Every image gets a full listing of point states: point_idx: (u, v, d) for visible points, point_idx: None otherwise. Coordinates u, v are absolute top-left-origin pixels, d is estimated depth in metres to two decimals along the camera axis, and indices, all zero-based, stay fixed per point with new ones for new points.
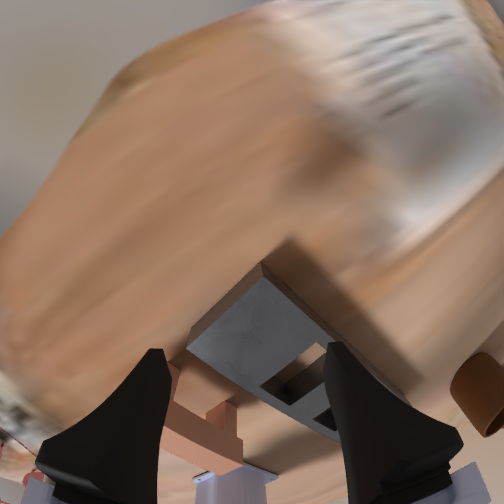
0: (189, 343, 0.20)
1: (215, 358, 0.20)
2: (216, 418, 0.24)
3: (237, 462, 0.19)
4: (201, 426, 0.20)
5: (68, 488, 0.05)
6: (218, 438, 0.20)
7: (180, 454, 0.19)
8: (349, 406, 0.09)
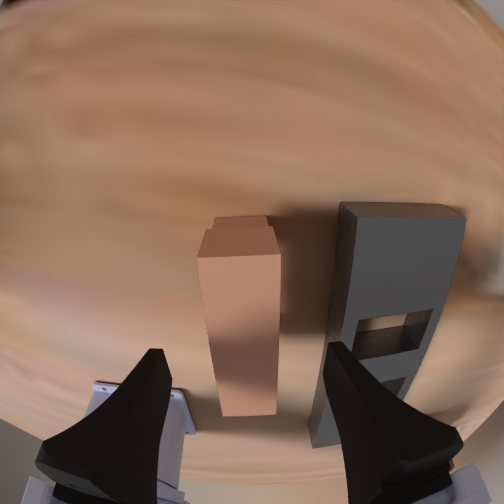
0: (362, 215, 0.14)
1: (368, 255, 0.15)
2: None
3: None
4: None
5: (68, 488, 0.05)
6: None
7: (220, 362, 0.13)
8: (349, 406, 0.09)
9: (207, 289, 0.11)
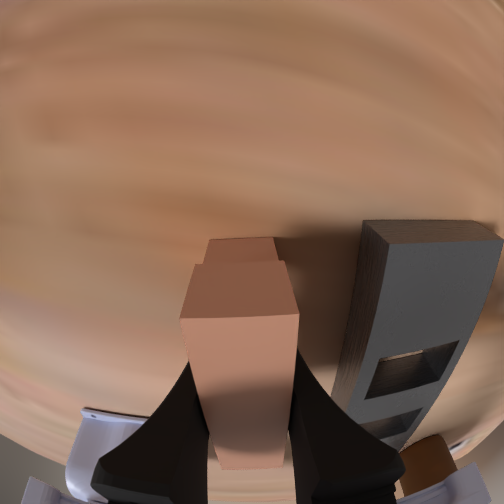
0: (394, 241, 0.11)
1: (397, 289, 0.12)
2: None
3: None
4: None
5: None
6: None
7: (217, 427, 0.09)
8: (294, 414, 0.09)
9: (196, 355, 0.08)
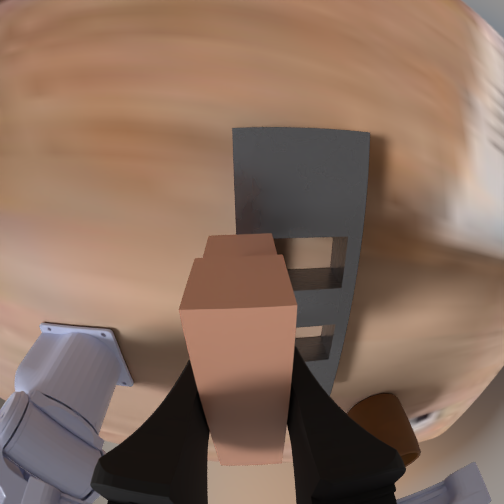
0: None
1: (249, 166, 0.16)
2: None
3: None
4: None
5: None
6: None
7: (217, 421, 0.09)
8: (294, 414, 0.09)
9: (195, 347, 0.08)
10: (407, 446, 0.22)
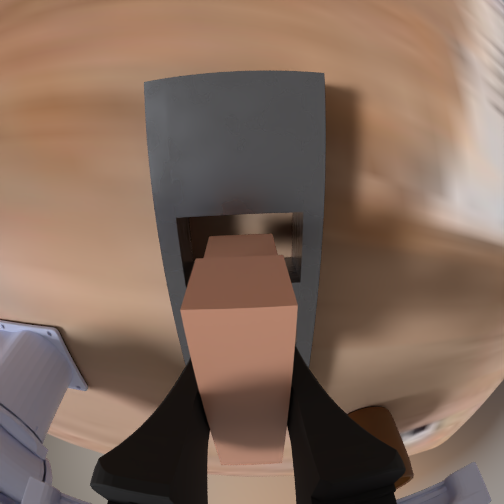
0: None
1: (164, 124, 0.12)
2: None
3: (282, 458, 0.11)
4: None
5: None
6: None
7: (217, 420, 0.09)
8: (293, 414, 0.09)
9: (196, 347, 0.08)
10: None
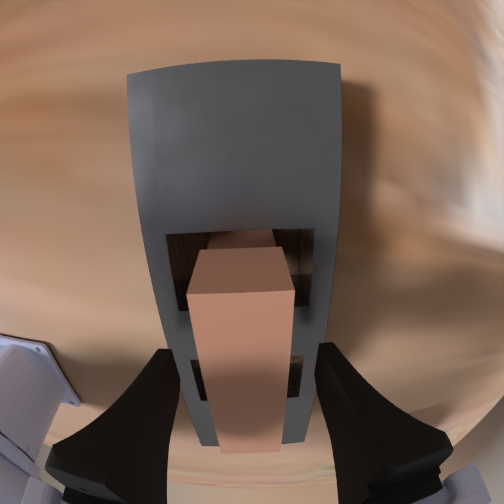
0: None
1: (150, 124, 0.10)
2: None
3: (280, 445, 0.12)
4: None
5: (78, 492, 0.05)
6: None
7: (219, 405, 0.10)
8: (338, 408, 0.09)
9: (201, 330, 0.08)
10: None
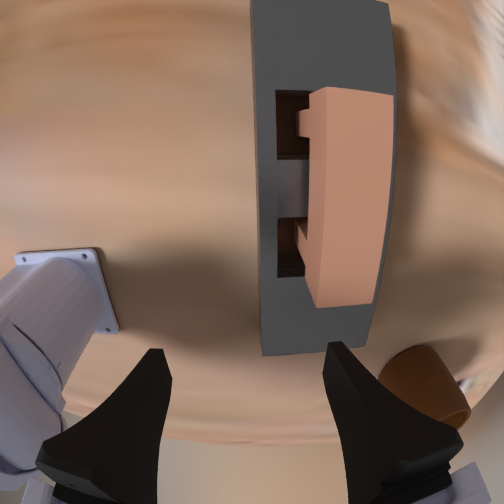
0: None
1: (269, 16, 0.11)
2: None
3: None
4: None
5: (68, 488, 0.05)
6: None
7: (332, 214, 0.12)
8: (349, 406, 0.09)
9: (332, 119, 0.10)
10: (458, 403, 0.17)
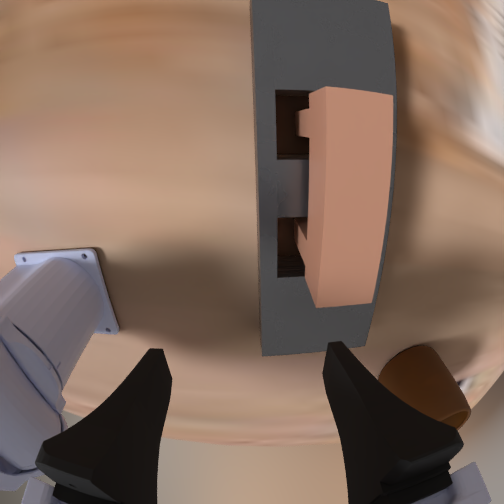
0: None
1: (269, 16, 0.11)
2: None
3: (373, 292, 0.14)
4: None
5: (68, 488, 0.05)
6: None
7: (332, 214, 0.12)
8: (349, 406, 0.09)
9: (332, 119, 0.10)
10: (458, 403, 0.17)
